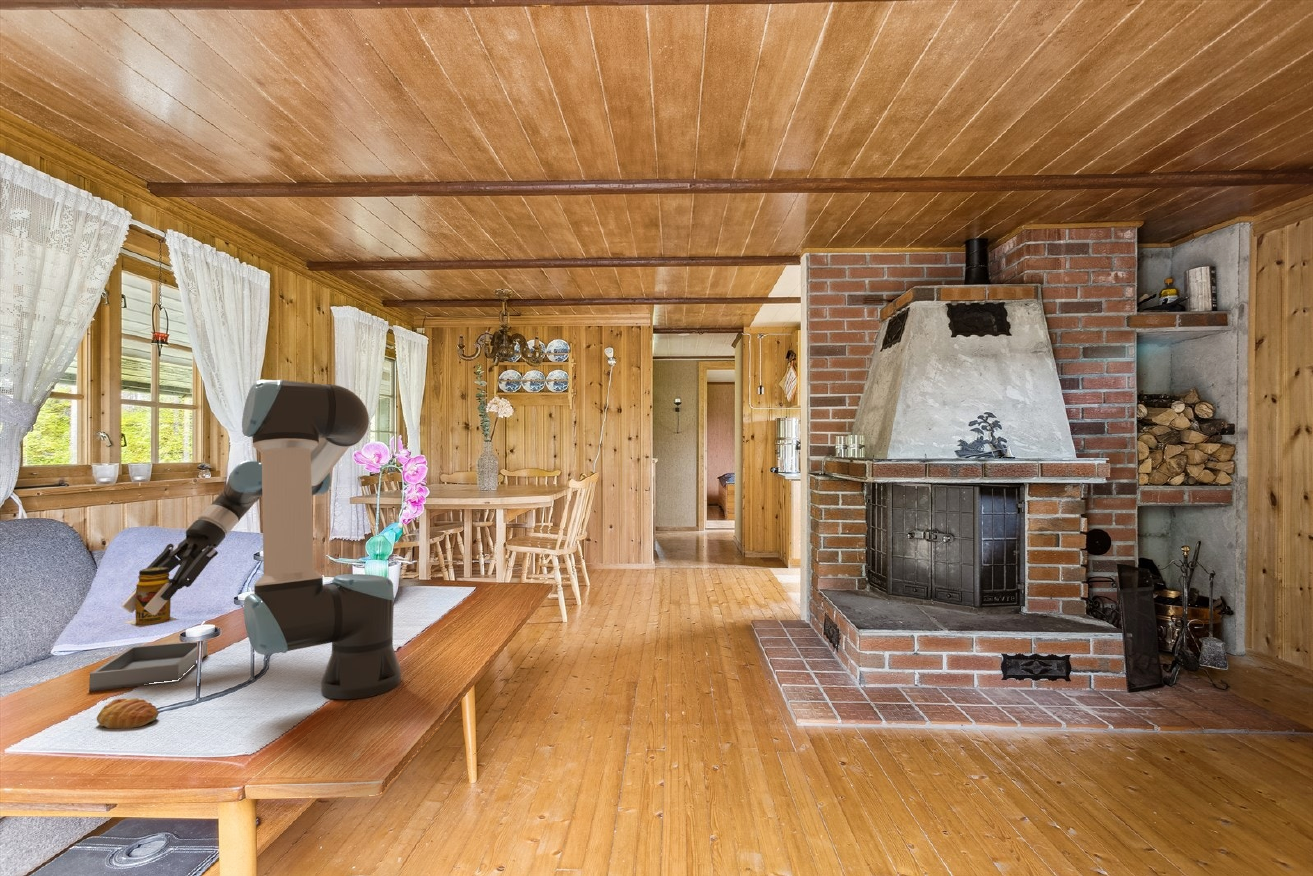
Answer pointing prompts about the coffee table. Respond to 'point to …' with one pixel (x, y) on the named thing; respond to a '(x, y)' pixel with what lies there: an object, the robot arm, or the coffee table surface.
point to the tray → (146, 665)
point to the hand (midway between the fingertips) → (138, 610)
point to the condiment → (145, 591)
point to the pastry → (127, 713)
